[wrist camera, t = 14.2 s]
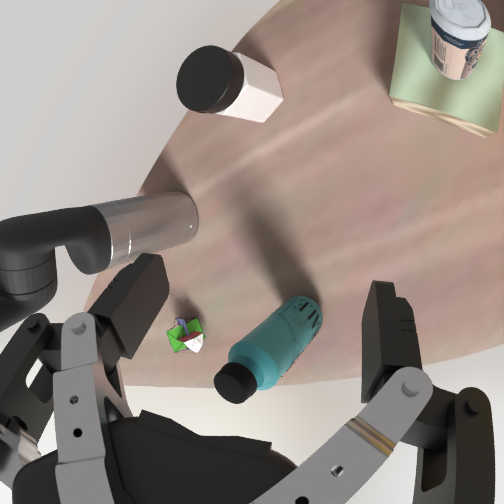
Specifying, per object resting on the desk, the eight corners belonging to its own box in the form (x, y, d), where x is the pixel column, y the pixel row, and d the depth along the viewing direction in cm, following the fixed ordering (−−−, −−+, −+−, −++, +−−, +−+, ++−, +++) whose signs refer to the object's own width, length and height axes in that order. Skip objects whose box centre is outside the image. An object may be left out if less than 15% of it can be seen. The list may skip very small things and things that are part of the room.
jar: (227, 79, 41) (170, 62, 31) (273, 58, 37) (222, 30, 27) (239, 132, 43) (182, 125, 33) (289, 114, 38) (239, 98, 28)
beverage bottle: (281, 318, 47) (197, 392, 30) (295, 281, 44) (206, 350, 28) (318, 338, 44) (247, 426, 28) (335, 302, 41) (264, 388, 25)
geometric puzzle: (178, 348, 59) (171, 364, 51) (165, 317, 58) (157, 330, 50) (211, 338, 59) (209, 354, 51) (199, 307, 59) (195, 318, 51)
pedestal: (394, 106, 31) (388, 94, 26) (406, 23, 26) (401, 2, 21) (486, 138, 26) (497, 132, 21) (495, 51, 21) (505, 33, 16)
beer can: (474, 86, 21) (496, 42, 11) (430, 76, 23) (430, 27, 13) (472, 45, 19) (487, -11, 9) (430, 37, 21) (425, -24, 12)
